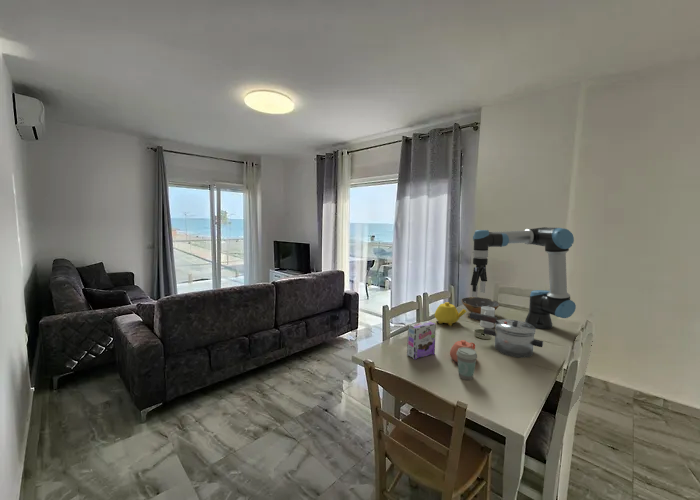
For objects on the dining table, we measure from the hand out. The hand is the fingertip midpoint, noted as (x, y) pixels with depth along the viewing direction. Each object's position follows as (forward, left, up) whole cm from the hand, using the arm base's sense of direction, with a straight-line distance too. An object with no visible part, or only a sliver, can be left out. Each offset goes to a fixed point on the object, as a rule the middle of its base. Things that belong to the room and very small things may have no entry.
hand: (478, 294), depth 171 cm
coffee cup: (+34, +31, -27) cm, 53 cm away
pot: (-9, +17, -27) cm, 33 cm away
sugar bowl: (+24, +18, -27) cm, 40 cm away
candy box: (+41, +6, -27) cm, 49 cm away
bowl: (-34, -35, -27) cm, 56 cm away
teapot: (-3, -28, -27) cm, 39 cm away
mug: (-21, -15, -27) cm, 37 cm away
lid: (-6, +11, -14) cm, 19 cm away
